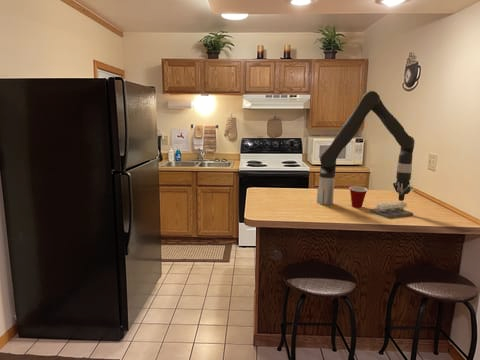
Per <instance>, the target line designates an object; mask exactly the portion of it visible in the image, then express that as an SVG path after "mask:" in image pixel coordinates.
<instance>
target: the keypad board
mask: <svg viewBox="0 0 480 360" xmlns="http://www.w3.org/2000/svg"><path fill="white" fill-rule="evenodd" d="M391 210H392V209H391V208H389V209H386V211H385V212H381V211H379V208H369V212H370V213H373V214H375V215H377V216H381V217H384V218H385V219H392V218H393V219H394V217H396V218H403V216H404V217H410V216H414V212H412V211H408V210H405V209H403V210H400V207H398V208H395V210H394V211H391Z"/></svg>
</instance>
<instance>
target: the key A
mask: <svg viewBox="0 0 480 360" xmlns="http://www.w3.org/2000/svg"><path fill="white" fill-rule="evenodd" d="M376 208H379V211H381V212H385V211H386V209H389V205H387V204H386V203H384V202H382V203H376ZM376 208H375V209H376Z"/></svg>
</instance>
